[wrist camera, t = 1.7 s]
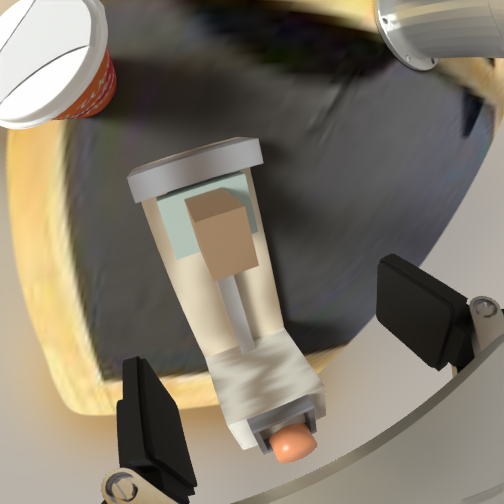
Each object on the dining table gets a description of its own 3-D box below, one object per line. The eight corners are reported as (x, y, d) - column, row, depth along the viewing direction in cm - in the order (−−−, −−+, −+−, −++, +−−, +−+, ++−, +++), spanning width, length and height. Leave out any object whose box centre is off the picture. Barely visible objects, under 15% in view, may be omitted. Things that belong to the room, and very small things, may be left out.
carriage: (233, 168, 25) (275, 188, 17) (246, 220, 27) (288, 261, 19) (156, 193, 24) (157, 226, 16) (173, 244, 26) (185, 299, 18)
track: (238, 136, 26) (306, 143, 14) (286, 354, 39) (331, 424, 27) (132, 169, 24) (112, 201, 12) (217, 380, 37) (247, 460, 25)
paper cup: (81, 146, 21) (12, 164, 9) (35, 92, 18) (-52, 72, 5) (146, 85, 21) (139, 36, 9) (98, 32, 17) (60, -43, 5)
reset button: (305, 417, 24) (316, 436, 22) (308, 434, 26) (317, 450, 24) (266, 434, 23) (275, 454, 21) (272, 449, 25) (281, 466, 23)
